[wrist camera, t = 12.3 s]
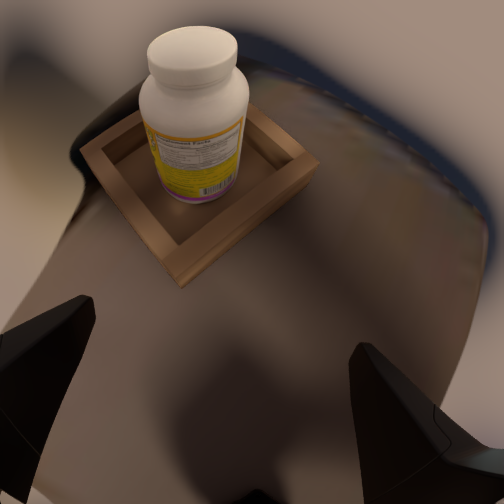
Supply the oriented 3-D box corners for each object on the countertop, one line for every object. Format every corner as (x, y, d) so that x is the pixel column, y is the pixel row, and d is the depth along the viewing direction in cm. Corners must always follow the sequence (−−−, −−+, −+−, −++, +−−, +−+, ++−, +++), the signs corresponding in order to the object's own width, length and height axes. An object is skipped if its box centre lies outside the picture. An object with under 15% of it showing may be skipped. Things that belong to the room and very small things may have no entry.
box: (306, 186, 26) (319, 162, 22) (181, 289, 22) (175, 278, 18) (208, 99, 28) (209, 72, 24) (93, 172, 24) (79, 149, 20)
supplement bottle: (175, 136, 25) (162, 15, 13) (245, 151, 25) (268, 27, 13) (148, 197, 23) (104, 75, 11) (225, 216, 23) (238, 91, 11)
